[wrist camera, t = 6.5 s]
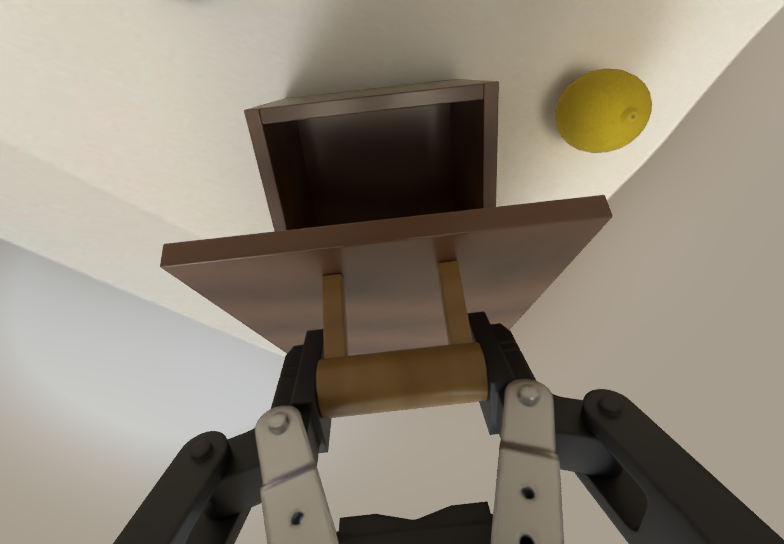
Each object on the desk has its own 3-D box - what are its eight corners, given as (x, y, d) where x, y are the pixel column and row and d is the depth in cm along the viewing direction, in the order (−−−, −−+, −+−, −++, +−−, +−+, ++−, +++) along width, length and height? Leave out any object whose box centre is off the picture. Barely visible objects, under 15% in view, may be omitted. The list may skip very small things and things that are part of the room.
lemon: (620, 106, 32) (693, 115, 24) (564, 157, 33) (618, 179, 26) (583, 52, 30) (650, 45, 23) (526, 109, 31) (571, 119, 24)
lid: (162, 243, 12) (134, 433, 10) (605, 194, 12) (673, 373, 10) (305, 355, 28) (306, 436, 26) (493, 334, 28) (510, 413, 26)
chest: (283, 98, 30) (243, 109, 21) (457, 79, 30) (499, 81, 21) (322, 284, 38) (306, 356, 28) (461, 269, 38) (493, 335, 28)
